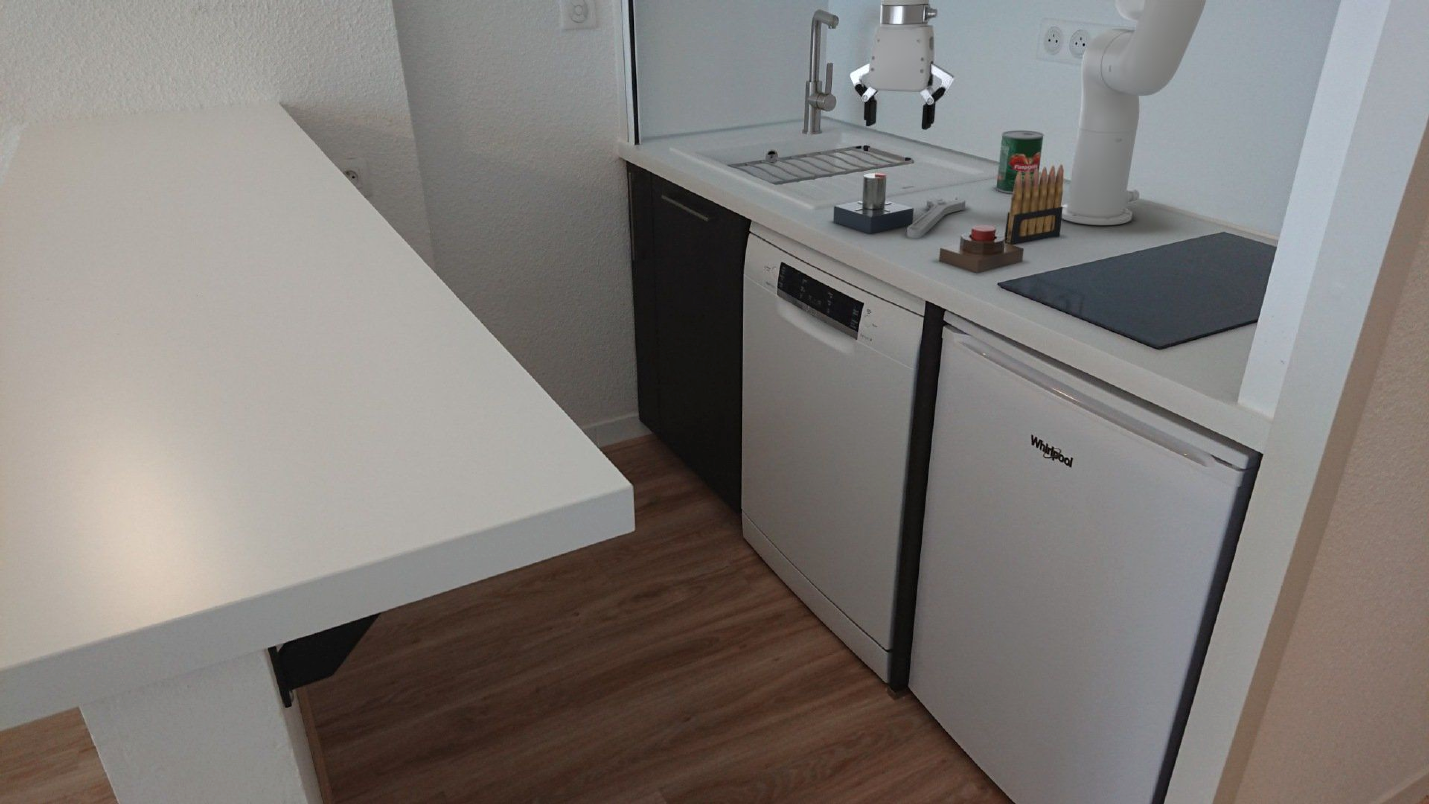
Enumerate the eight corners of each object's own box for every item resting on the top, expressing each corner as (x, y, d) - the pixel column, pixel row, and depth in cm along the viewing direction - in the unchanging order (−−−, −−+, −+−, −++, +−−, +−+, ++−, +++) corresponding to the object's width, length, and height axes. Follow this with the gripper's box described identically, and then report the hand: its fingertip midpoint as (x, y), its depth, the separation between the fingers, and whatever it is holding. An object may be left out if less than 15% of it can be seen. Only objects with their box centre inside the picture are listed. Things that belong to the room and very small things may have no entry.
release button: (982, 234, 150) (983, 223, 149) (999, 239, 147) (1000, 228, 146) (965, 238, 148) (966, 227, 147) (983, 243, 145) (984, 232, 145)
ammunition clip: (1051, 233, 162) (1061, 162, 157) (1059, 236, 161) (1069, 164, 156) (1003, 242, 158) (1011, 170, 153) (1010, 245, 157) (1019, 172, 152)
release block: (983, 250, 155) (985, 226, 153) (1022, 262, 148) (1025, 237, 147) (938, 261, 150) (940, 236, 148) (977, 273, 144) (979, 248, 142)
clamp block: (875, 213, 177) (875, 196, 176) (912, 224, 170) (913, 207, 168) (833, 222, 172) (833, 204, 171) (870, 234, 165) (870, 215, 163)
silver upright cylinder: (859, 208, 169) (860, 175, 166) (866, 203, 172) (867, 170, 170) (880, 210, 167) (882, 177, 165) (887, 205, 171) (889, 172, 168)
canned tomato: (1020, 196, 187) (1026, 138, 182) (987, 189, 193) (993, 133, 188) (1045, 189, 191) (1052, 133, 186) (1012, 183, 197) (1018, 128, 192)
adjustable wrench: (919, 239, 161) (920, 229, 161) (884, 235, 164) (885, 225, 164) (968, 206, 180) (969, 197, 179) (936, 203, 183) (936, 193, 183)
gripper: (964, 15, 151) (955, 126, 158) (861, 14, 159) (857, 120, 166) (951, 18, 145) (942, 133, 152) (844, 18, 153) (841, 127, 160)
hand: (898, 126), depth 159 cm, fingers open, 9 cm apart
